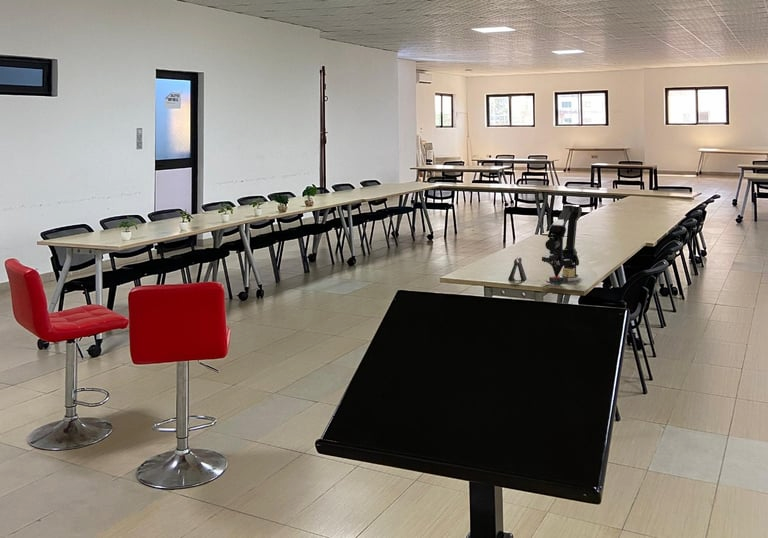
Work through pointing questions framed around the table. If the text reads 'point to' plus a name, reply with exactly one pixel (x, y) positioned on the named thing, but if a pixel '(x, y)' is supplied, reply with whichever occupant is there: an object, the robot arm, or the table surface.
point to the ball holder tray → (562, 280)
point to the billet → (568, 272)
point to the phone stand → (521, 271)
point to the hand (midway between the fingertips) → (556, 276)
